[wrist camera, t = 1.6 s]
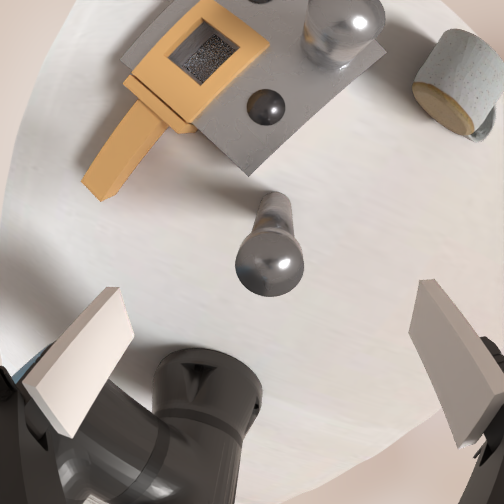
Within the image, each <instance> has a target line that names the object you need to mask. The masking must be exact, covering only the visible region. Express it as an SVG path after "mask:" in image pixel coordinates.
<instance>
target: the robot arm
mask: <svg viewBox="0 0 504 504" xmlns="http://www.w3.org/2000/svg"><path fill="white" fill-rule="evenodd" d="M408 333H409V335H410V337H411V339H412V341H413V343H414V345H415V347H416V349H417V352H418V354H419V356H420V358H421V360H422V362H423V364H424V367H425V369H426V371H427V373H428V375H429V378H430V380H431V382H432V384H433V387H434V389H435V391H436V394H437V396H438V399H439V401H440V403H441V406H442V408H443V411H444V413H445V416H446V418H447V421H448V423H449V426H450V429H451V431H452V434H453V437H454V440H455V442H456V445H457V448H458V449H461V448H464V447H467V446H469V445H473V444H475V443H476V442H477V441H478V440H479V438H480V437H481V436H482V434H483V433H484V435H485V437H486V442H485V443H484V444H483V445H482V446H481V448H480V449H479V450H478V451H477V453H476V454H475V455H474V457H473V458H476V457H477V456H478V455H479V454H480V455H479V457H478V460H477V462H476V465H475V468H474V470H473V472H472V475H471V477H470V480H469V482H468V484H467V486H466V488H465V491H464V493H463V495H462V497H461V499H460V502H459V503H458V504H504V356H503V355H501V351H500V350H499V349H498V347H497V346H496V344H495V343H493V342H492V341H491V340H489V339H488V338H487V337H485V336H484V337H479V336H478V335H477V333H476V332H475V330H474V329H473V328H472V326H471V325H470V324H469V322H468V321H467V320H466V318H465V317H464V316H463V314H462V313H461V312H460V310H459V309H458V308H457V307H456V305H455V304H454V303H453V301H452V300H451V299H450V298H449V296H448V295H447V294H446V293H445V291H444V290H443V289H442V288H441V286H440V285H439V284H438V283H437V282H436V280H435V279H431V280H419V286H418V291H417V296H416V301H415V306H414V311H413V315H412V320H411V324H410V328H409V332H408ZM134 336H135V335H134V332H133V329H132V326H131V323H130V320H129V317H128V314H127V310H126V307H125V304H124V301H123V297H122V294H121V290H120V287H106V288H105V289H104V290H103V291H102V292H101V293H100V294H99V295H98V296H97V297H96V298H95V299H94V300H93V302H92V303H91V304H90V305H89V306H88V307H87V308H86V309H85V310H84V311H83V312H82V313H81V314H80V315H79V316H78V318H77V319H76V320H75V321H74V322H73V323H72V324H71V325H70V326H69V327H68V329H67V330H66V331H65V332H64V333H63V334H62V335H61V336H60V337H59V339H58V340H56V341H55V342H53V343H51V344H49V345H48V346H47V347H45V348H44V349H43V350H41V351H40V352H39V353H38V354H37V355H35V356H34V357H33V358H32V359H31V360H30V361H29V362H27V363H26V364H25V365H24V366H23V367H22V368H21V369H20V370H19V371H18V372H16V373H15V374H14V375H13V376H12V377H11V376H10V375H9V373H8V371H7V370H6V368H5V367H4V366H0V504H83V503H84V501H85V500H86V499H87V498H88V497H89V496H90V495H94V496H96V497H97V498H99V499H101V500H103V501H105V502H107V503H109V504H234V502H235V495H236V487H237V480H238V472H239V465H240V457H241V449H242V443H243V439H244V438H245V436H246V434H247V432H248V431H249V429H250V427H251V426H252V424H253V422H254V420H255V419H256V417H257V415H258V413H259V411H260V408H261V403H262V386H261V383H260V381H259V379H258V377H257V376H256V375H255V374H254V372H253V371H252V370H251V369H250V368H248V367H247V366H246V365H245V364H243V363H242V362H240V361H238V360H237V359H235V358H233V357H231V356H228V355H226V354H223V353H220V352H216V351H212V350H206V349H185V350H180V351H177V352H174V353H172V354H170V355H168V356H167V357H165V358H164V359H163V360H162V362H161V363H160V365H159V367H158V369H157V371H156V373H155V376H154V379H153V395H152V413H151V412H150V411H149V410H147V409H146V408H145V407H143V406H142V405H141V404H139V403H138V402H137V401H135V400H134V399H133V398H131V397H130V396H129V395H128V394H126V393H125V392H124V391H123V390H121V389H120V388H119V387H118V386H116V385H115V384H114V383H113V382H112V381H110V380H109V379H108V378H109V376H110V374H111V373H112V371H113V369H114V368H115V366H116V365H117V363H118V361H119V360H120V358H121V357H122V355H123V353H124V352H125V350H126V349H127V347H128V346H129V344H130V342H131V341H132V339H133V338H134Z"/></svg>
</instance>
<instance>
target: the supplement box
mask: <svg viewBox="0 0 504 504" xmlns="http://www.w3.org/2000/svg"><path fill="white" fill-rule="evenodd" d="M83 504H109V503H107V502H105V501H103V500H101V499H99V498H97V497H96V496H94V495H90V496H89V497H88V498H87V499H86V500H85V501H84V503H83Z"/></svg>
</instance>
